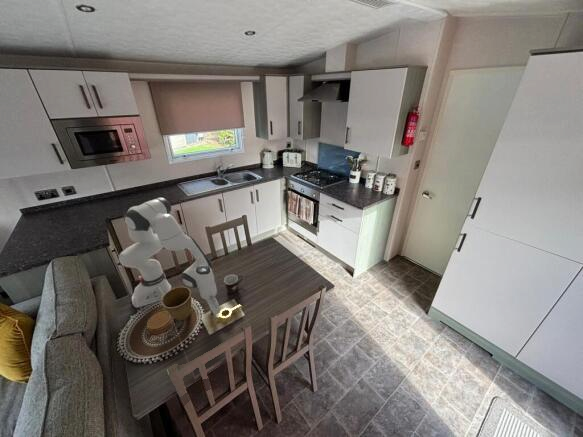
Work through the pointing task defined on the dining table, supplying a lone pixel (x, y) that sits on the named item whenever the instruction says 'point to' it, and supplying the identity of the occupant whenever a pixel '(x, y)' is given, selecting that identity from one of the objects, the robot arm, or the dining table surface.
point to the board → (208, 316)
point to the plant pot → (178, 302)
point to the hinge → (223, 317)
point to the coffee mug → (232, 283)
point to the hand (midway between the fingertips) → (212, 308)
